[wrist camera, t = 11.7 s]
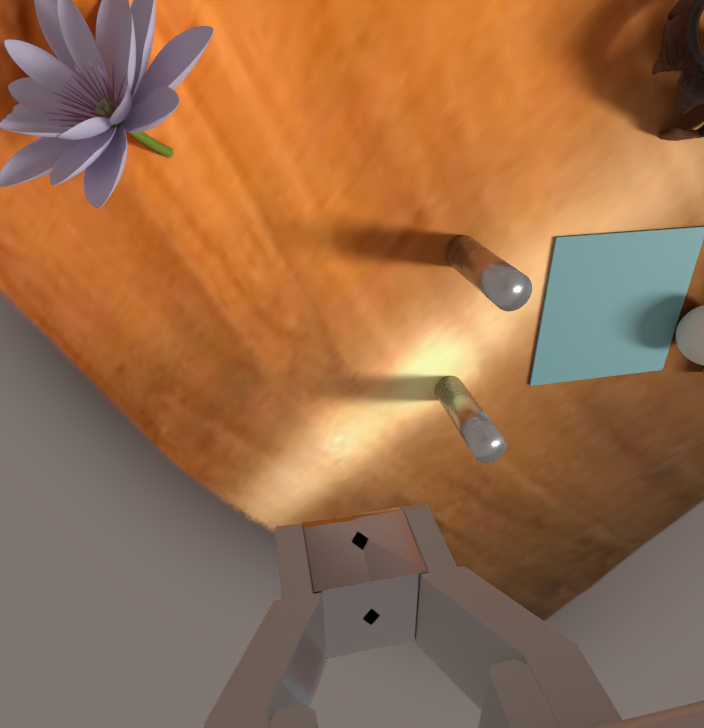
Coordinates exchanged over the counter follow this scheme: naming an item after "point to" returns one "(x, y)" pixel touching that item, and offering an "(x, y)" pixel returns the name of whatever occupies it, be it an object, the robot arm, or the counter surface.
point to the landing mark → (613, 303)
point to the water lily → (94, 92)
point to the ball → (692, 335)
